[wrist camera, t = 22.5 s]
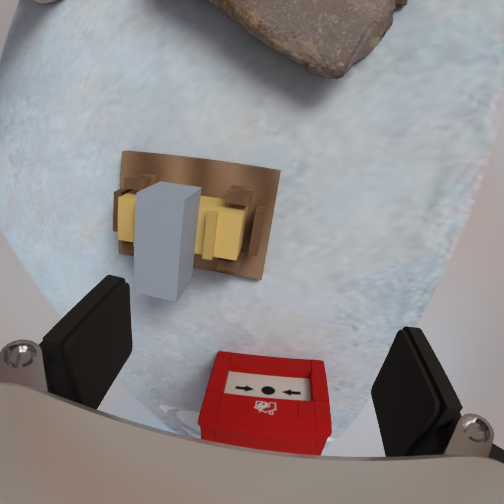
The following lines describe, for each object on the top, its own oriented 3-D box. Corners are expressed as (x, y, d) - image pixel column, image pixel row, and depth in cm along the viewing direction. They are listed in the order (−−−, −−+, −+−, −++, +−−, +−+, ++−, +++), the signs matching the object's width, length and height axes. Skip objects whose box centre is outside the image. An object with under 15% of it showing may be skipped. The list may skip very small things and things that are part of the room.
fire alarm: (324, 358, 47) (333, 434, 33) (312, 404, 51) (315, 475, 37) (218, 348, 48) (196, 421, 34) (218, 395, 52) (200, 465, 38)
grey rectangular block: (154, 268, 36) (133, 292, 31) (160, 181, 33) (136, 192, 27) (192, 275, 36) (176, 302, 31) (201, 187, 32) (184, 199, 27)
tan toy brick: (138, 224, 41) (113, 242, 34) (140, 187, 39) (114, 199, 33) (243, 242, 41) (235, 264, 34) (248, 202, 39) (241, 218, 32)
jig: (121, 250, 44) (103, 265, 39) (125, 150, 39) (104, 154, 33) (261, 276, 43) (258, 296, 38) (280, 170, 38) (279, 176, 33)
